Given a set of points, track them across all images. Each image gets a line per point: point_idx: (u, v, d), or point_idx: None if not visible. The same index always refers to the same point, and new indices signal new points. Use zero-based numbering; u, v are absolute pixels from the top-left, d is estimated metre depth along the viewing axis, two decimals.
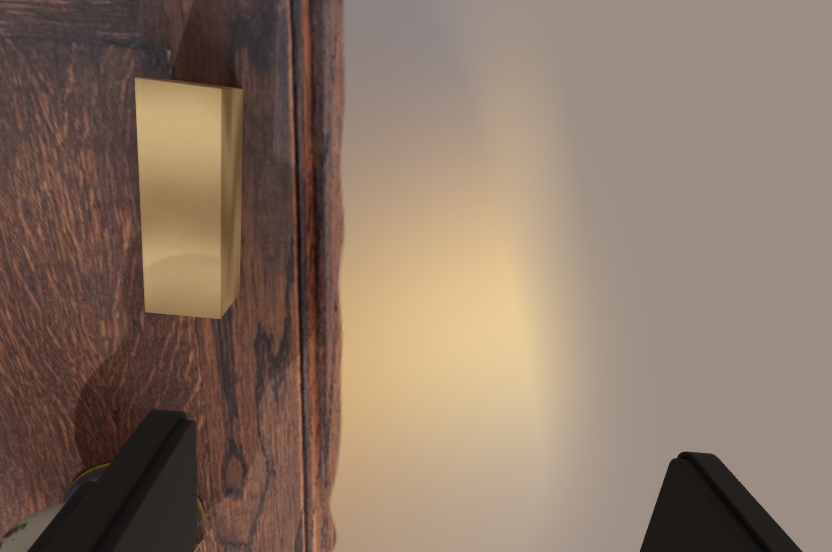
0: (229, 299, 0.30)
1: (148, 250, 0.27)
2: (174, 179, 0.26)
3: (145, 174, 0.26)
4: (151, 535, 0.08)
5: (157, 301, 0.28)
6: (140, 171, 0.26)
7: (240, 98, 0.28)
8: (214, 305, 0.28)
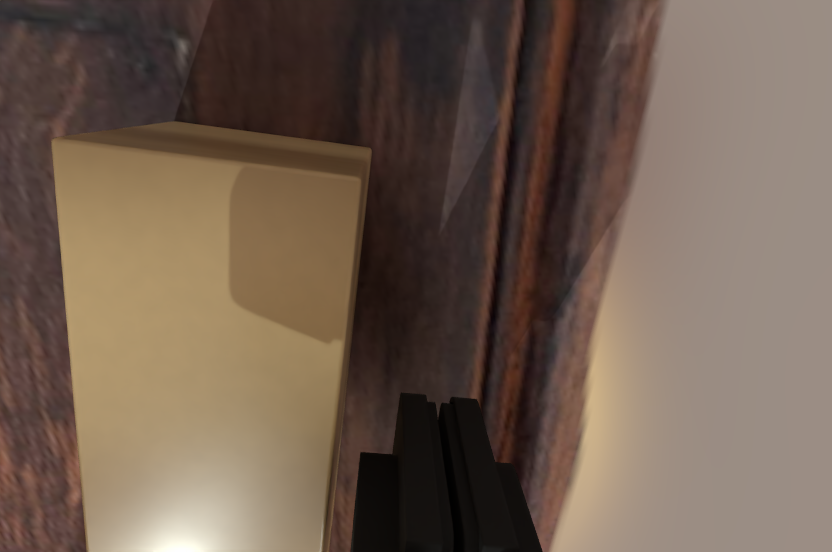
0: None
1: None
2: (190, 449, 0.08)
3: (98, 436, 0.08)
4: None
5: None
6: (80, 429, 0.08)
7: (368, 177, 0.10)
8: None
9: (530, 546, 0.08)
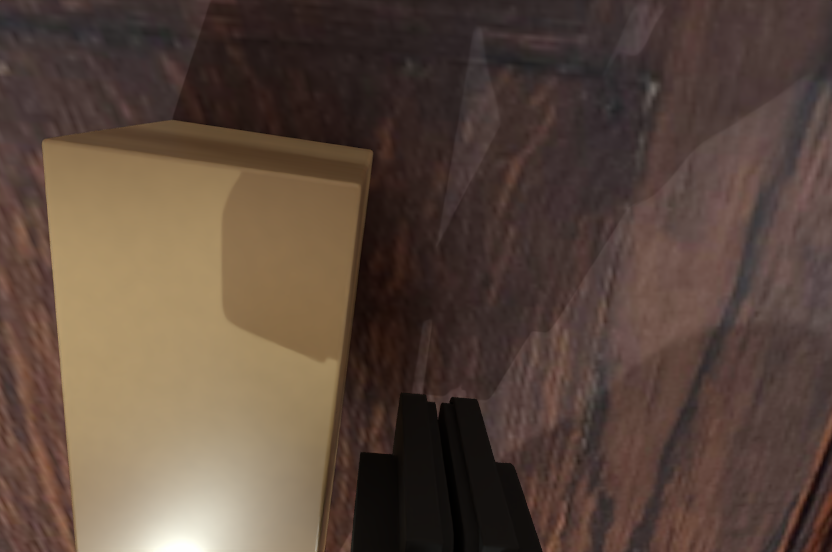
0: None
1: None
2: (182, 458, 0.08)
3: (88, 444, 0.08)
4: None
5: None
6: (71, 435, 0.08)
7: (368, 180, 0.10)
8: None
9: (531, 547, 0.08)
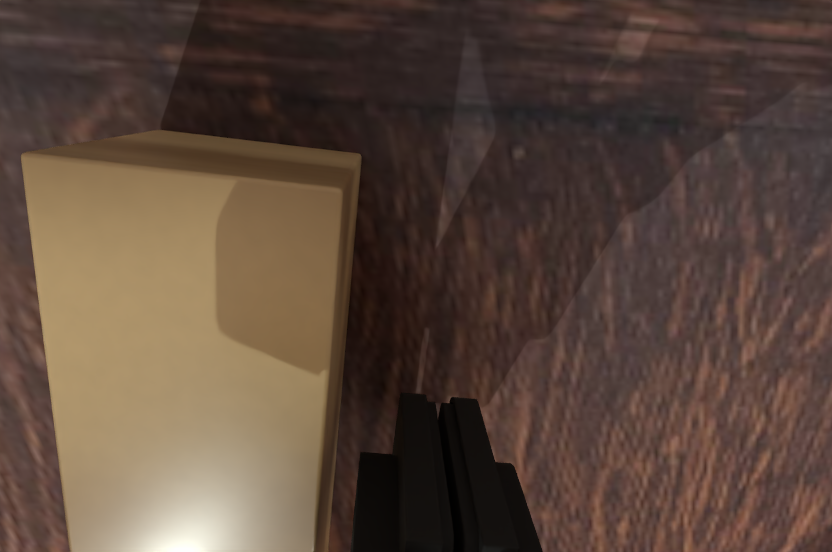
0: None
1: None
2: (175, 468, 0.08)
3: (80, 457, 0.08)
4: None
5: None
6: (61, 449, 0.08)
7: (357, 185, 0.10)
8: None
9: (531, 547, 0.08)
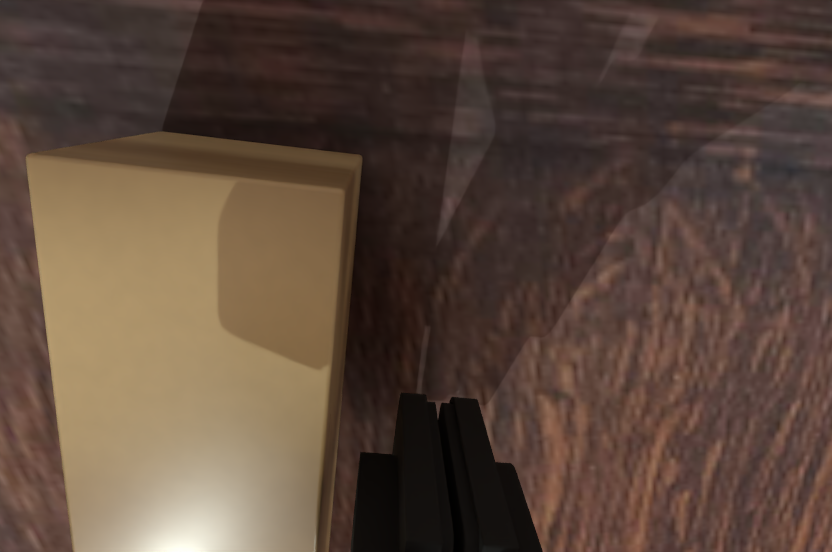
0: None
1: None
2: (177, 467, 0.08)
3: (83, 457, 0.08)
4: None
5: None
6: (65, 448, 0.08)
7: (358, 186, 0.10)
8: None
9: (531, 547, 0.08)
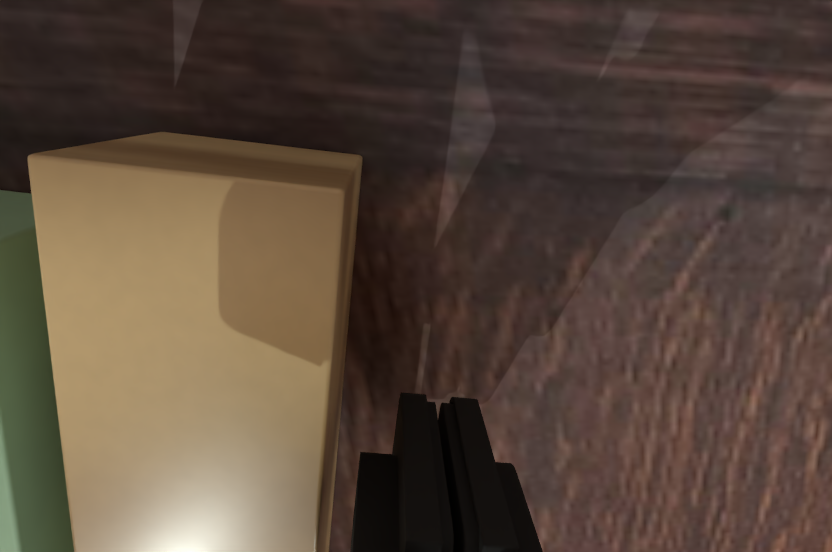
0: None
1: None
2: (177, 466, 0.08)
3: (85, 455, 0.08)
4: None
5: None
6: (66, 447, 0.08)
7: (358, 185, 0.10)
8: None
9: (531, 546, 0.08)
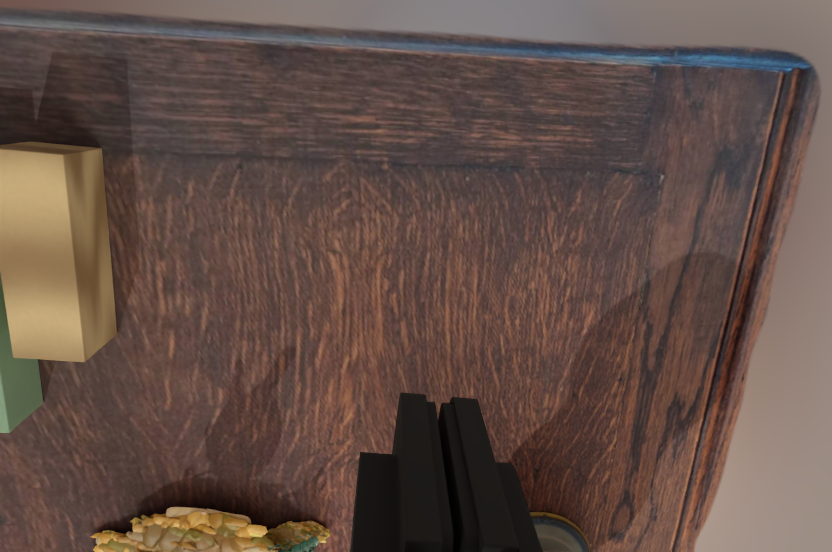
0: (99, 342, 0.32)
1: (10, 301, 0.29)
2: (28, 237, 0.28)
3: (0, 233, 0.28)
4: None
5: (23, 347, 0.30)
6: None
7: (96, 158, 0.30)
8: (77, 349, 0.31)
9: (531, 547, 0.08)
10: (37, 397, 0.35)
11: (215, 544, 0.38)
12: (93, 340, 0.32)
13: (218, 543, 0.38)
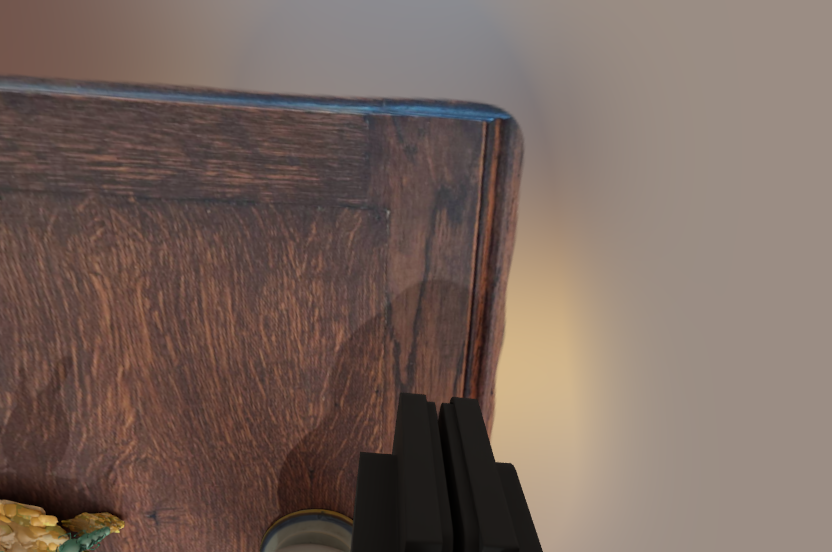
0: None
1: None
2: None
3: None
4: None
5: None
6: None
7: None
8: None
9: (531, 546, 0.08)
10: None
11: (11, 531, 0.42)
12: None
13: (14, 531, 0.42)
